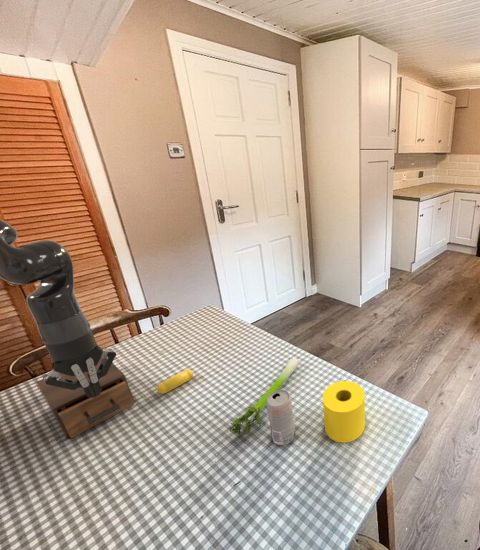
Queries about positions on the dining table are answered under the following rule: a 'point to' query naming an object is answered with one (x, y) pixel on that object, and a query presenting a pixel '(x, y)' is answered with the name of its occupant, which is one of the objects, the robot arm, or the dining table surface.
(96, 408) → the drawer
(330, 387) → the yellow toilet paper roll
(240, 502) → the dining table surface
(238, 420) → the celery stalk
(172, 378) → the yellow round-top cylinder
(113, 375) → the cabinet
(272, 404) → the energy drink
